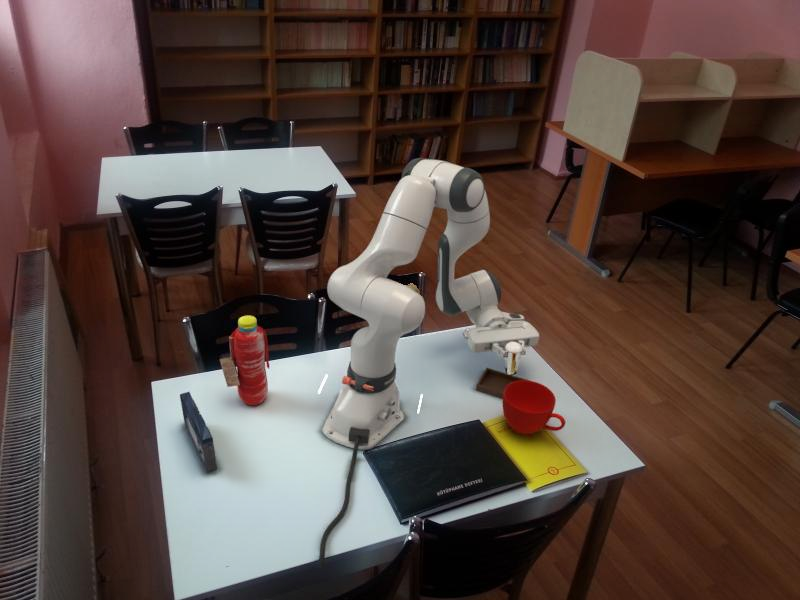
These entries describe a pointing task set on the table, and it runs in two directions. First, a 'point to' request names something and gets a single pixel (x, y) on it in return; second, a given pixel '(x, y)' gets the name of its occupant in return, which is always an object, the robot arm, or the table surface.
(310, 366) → the table surface
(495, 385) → the tray
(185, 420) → the vhs cassette tape
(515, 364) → the milkshake
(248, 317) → the water bottle
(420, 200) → the robot arm
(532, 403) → the ceramic cup
